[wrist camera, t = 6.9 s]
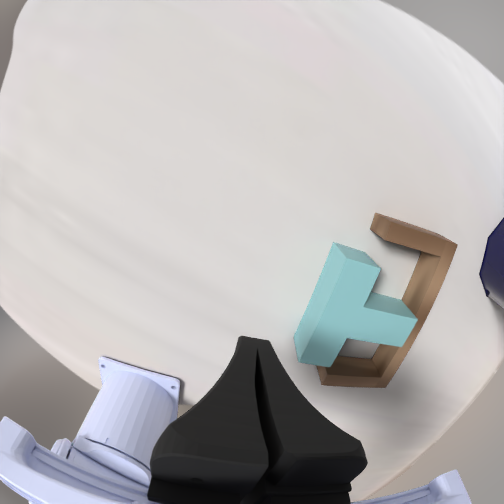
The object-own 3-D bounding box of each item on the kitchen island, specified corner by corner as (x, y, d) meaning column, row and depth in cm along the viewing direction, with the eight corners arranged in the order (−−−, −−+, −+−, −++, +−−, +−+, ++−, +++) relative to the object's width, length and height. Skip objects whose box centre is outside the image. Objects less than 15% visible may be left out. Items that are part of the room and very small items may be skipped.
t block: (372, 351, 22) (384, 373, 19) (293, 336, 21) (298, 362, 18) (416, 269, 19) (435, 285, 16) (333, 242, 19) (346, 257, 16)
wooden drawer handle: (376, 369, 23) (385, 387, 20) (316, 364, 22) (321, 385, 20) (439, 234, 18) (457, 244, 16) (375, 212, 18) (391, 221, 15)
